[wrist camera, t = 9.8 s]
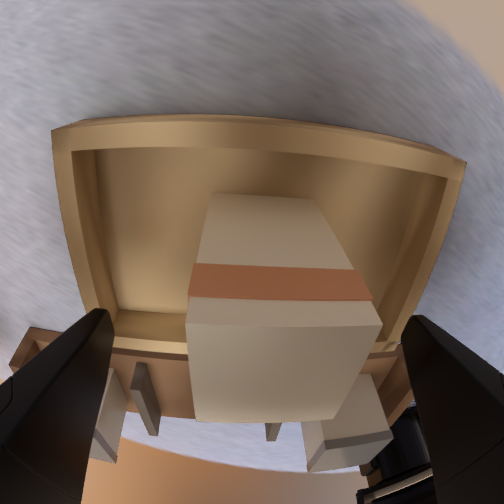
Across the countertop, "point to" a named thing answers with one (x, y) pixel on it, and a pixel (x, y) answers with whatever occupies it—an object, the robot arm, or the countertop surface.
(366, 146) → the tray
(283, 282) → the beige striped box
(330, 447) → the grey beige rectangular block
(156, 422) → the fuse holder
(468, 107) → the countertop surface
